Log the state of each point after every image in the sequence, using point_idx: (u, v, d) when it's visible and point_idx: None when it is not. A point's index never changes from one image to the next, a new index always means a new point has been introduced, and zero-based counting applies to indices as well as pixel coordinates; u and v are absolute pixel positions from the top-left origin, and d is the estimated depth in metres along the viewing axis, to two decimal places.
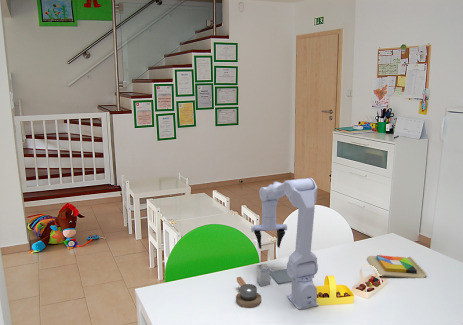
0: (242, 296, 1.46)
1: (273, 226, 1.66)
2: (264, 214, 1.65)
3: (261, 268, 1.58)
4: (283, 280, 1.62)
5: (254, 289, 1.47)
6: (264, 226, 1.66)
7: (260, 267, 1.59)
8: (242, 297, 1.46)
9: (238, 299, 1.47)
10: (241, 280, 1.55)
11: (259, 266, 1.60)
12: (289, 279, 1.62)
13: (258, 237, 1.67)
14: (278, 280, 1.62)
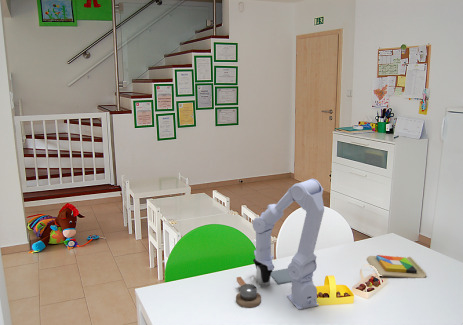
0: (242, 296, 1.46)
1: (258, 258, 1.57)
2: (261, 246, 1.55)
3: None
4: (283, 280, 1.62)
5: (254, 289, 1.47)
6: None
7: None
8: (242, 297, 1.46)
9: (238, 299, 1.47)
10: (241, 280, 1.55)
11: None
12: (289, 279, 1.62)
13: (255, 263, 1.62)
14: (278, 280, 1.62)
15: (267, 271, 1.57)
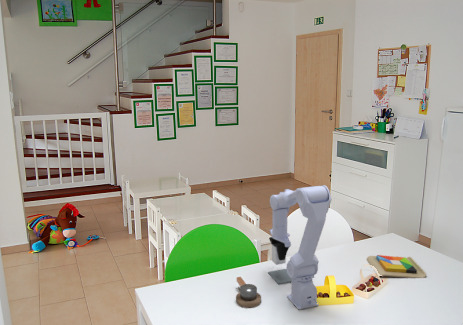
0: (242, 296, 1.46)
1: (275, 235, 1.59)
2: (275, 223, 1.58)
3: None
4: (283, 280, 1.62)
5: (254, 289, 1.47)
6: None
7: (276, 246, 1.61)
8: (242, 297, 1.46)
9: (238, 299, 1.47)
10: (241, 280, 1.55)
11: (274, 245, 1.62)
12: (289, 279, 1.62)
13: (271, 242, 1.64)
14: (278, 280, 1.62)
15: (284, 249, 1.59)
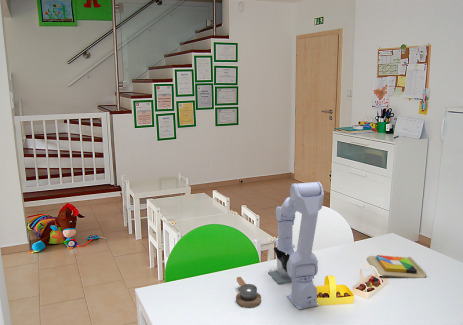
0: (242, 296, 1.46)
1: (280, 247, 1.61)
2: (279, 234, 1.61)
3: (282, 261, 1.62)
4: (283, 280, 1.62)
5: (254, 289, 1.47)
6: None
7: (281, 260, 1.63)
8: (242, 297, 1.46)
9: (238, 299, 1.47)
10: (241, 280, 1.55)
11: (279, 259, 1.64)
12: (289, 279, 1.62)
13: (275, 252, 1.67)
14: (278, 280, 1.62)
15: None
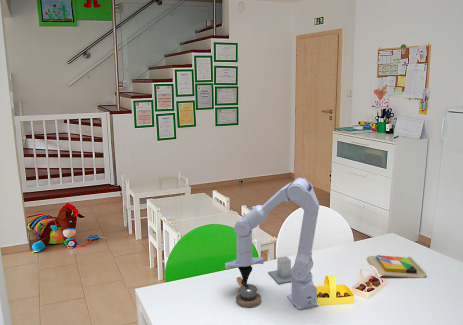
0: (242, 296, 1.46)
1: (250, 261, 1.51)
2: (244, 250, 1.50)
3: (282, 261, 1.62)
4: (283, 280, 1.62)
5: (254, 289, 1.47)
6: (240, 262, 1.51)
7: (281, 259, 1.63)
8: (242, 297, 1.46)
9: (238, 299, 1.47)
10: (241, 280, 1.55)
11: (280, 258, 1.64)
12: (289, 279, 1.62)
13: (244, 273, 1.52)
14: (278, 280, 1.62)
15: None
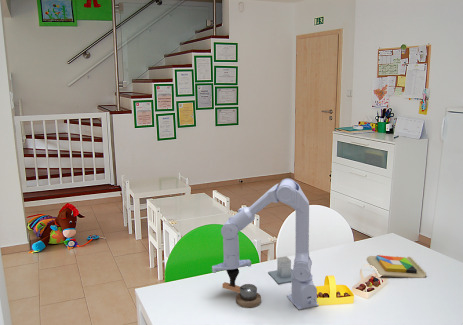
0: (247, 297, 1.45)
1: (237, 264, 1.50)
2: (232, 252, 1.48)
3: (282, 261, 1.62)
4: (283, 280, 1.62)
5: (254, 287, 1.48)
6: (227, 265, 1.50)
7: (281, 259, 1.63)
8: (247, 298, 1.45)
9: (238, 299, 1.47)
10: (230, 284, 1.52)
11: (280, 258, 1.64)
12: (289, 279, 1.62)
13: (232, 276, 1.50)
14: (278, 280, 1.62)
15: None
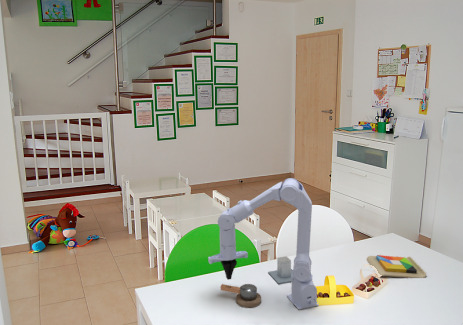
0: (249, 297, 1.45)
1: (233, 255, 1.49)
2: (229, 243, 1.47)
3: (282, 261, 1.62)
4: (283, 280, 1.62)
5: (254, 286, 1.48)
6: (223, 256, 1.48)
7: (281, 259, 1.63)
8: (249, 298, 1.45)
9: (238, 299, 1.47)
10: (228, 286, 1.50)
11: (280, 258, 1.64)
12: (289, 279, 1.62)
13: (226, 267, 1.49)
14: (278, 280, 1.62)
15: None
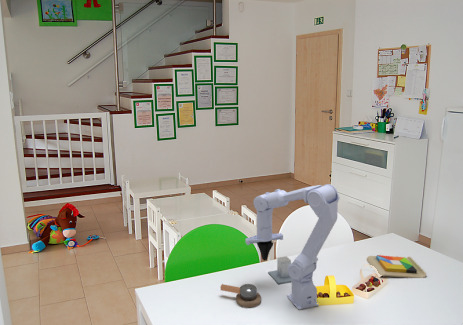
0: (249, 297, 1.45)
1: (270, 237, 1.54)
2: (262, 225, 1.52)
3: (282, 261, 1.62)
4: (283, 280, 1.62)
5: (254, 286, 1.48)
6: (260, 237, 1.54)
7: (281, 259, 1.63)
8: (249, 298, 1.45)
9: (238, 299, 1.47)
10: (228, 286, 1.50)
11: (280, 258, 1.64)
12: (289, 279, 1.62)
13: (263, 248, 1.54)
14: (278, 280, 1.62)
15: None
